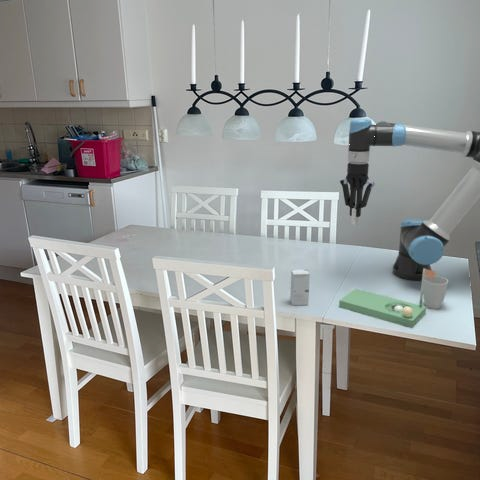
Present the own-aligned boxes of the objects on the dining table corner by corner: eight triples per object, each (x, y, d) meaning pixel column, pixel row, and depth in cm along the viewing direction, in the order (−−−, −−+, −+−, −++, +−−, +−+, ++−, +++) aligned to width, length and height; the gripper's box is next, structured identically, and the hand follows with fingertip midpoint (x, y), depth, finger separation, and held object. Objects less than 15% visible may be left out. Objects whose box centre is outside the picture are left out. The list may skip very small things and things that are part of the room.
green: (339, 306, 172) (339, 300, 171) (355, 294, 182) (355, 288, 181) (411, 327, 156) (412, 320, 156) (425, 313, 166) (426, 306, 165)
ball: (396, 302, 166) (406, 305, 164) (395, 311, 168) (404, 314, 166) (393, 306, 164) (402, 309, 162) (391, 314, 165) (401, 318, 163)
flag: (419, 306, 166) (423, 268, 161) (431, 309, 163) (435, 270, 159) (418, 307, 165) (422, 268, 161) (430, 310, 163) (435, 271, 158)
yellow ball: (403, 313, 161) (404, 303, 160) (414, 315, 159) (415, 306, 158) (400, 316, 158) (401, 307, 157) (410, 319, 156) (411, 310, 155)
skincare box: (292, 305, 173) (292, 274, 170) (289, 300, 177) (290, 269, 174) (309, 305, 174) (310, 273, 170) (306, 299, 178) (307, 269, 174)
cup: (439, 300, 176) (442, 275, 173) (449, 310, 168) (452, 283, 165) (416, 301, 175) (419, 275, 172) (425, 311, 168) (428, 284, 165)
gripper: (337, 162, 178) (334, 224, 185) (370, 165, 170) (366, 229, 177) (346, 159, 184) (343, 219, 191) (379, 162, 176) (374, 225, 183)
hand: (354, 224), depth 184 cm, fingers closed
